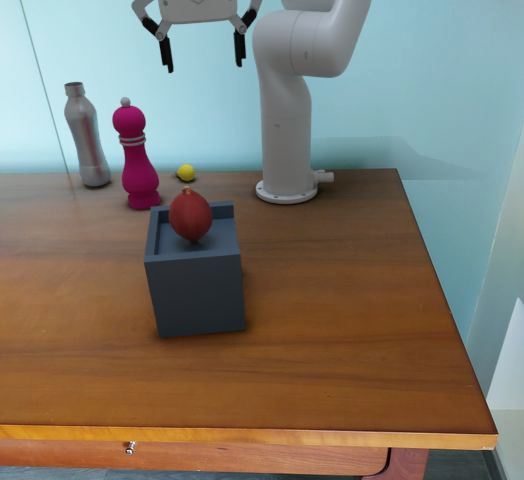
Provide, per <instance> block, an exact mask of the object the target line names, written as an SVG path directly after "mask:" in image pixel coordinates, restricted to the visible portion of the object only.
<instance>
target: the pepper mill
mask: <svg viewBox="0 0 524 480" xmlns="http://www.w3.org/2000/svg"><path fill="white" fill-rule="evenodd" d="M119 104H120V105H121V106H118V108H116V109H115V110H114V111H113V113H112V118H111V122H112V126H113V129H114V130H115V131H116V132H117V133H118V135H117V138H118V141H119V142H118V143H119V145H121V146H122V149H123V154H124V164H123V169H122V172H121V186H122V189H123V190H124V191H125V192H126V193H127V194H128V195H127V202H128V206H129V207H130V208H132V209H134V210H148V209H151V207H154V206H159V204H160V203H161V199H160V192H159V191H158V190H157V189H158V188H159V186H160V178H159V174H158V172H157V170H156V168H155V166H154V165H153V164H152V163H151V160H150V159H149V156H148V154H147V151H146V144H145V143H146V142H147V138H146V132H145V131H144V130H145V128H146V124H147V120H146V116H145V114H144V113H143V111H142V109H140V108H139V107H137V106H135V105H132V104H131V99H130V98H129V97H128V96H123V97H121V99H120V103H119Z"/></svg>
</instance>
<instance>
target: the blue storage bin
mask: <svg viewBox="0 0 524 480" xmlns="http://www.w3.org/2000/svg"><path fill="white" fill-rule="evenodd" d="M207 202H208V203H209V205H210V207H211V210H212V225H211V227H210V230H209V231H208V232H207V233H206V234H205V235H204V236H203V237H202V238H201V239H199V240H198V241H197V242H195V243H192V242H190V241H188V240H187V239H185V238H183V237H181V236H179V235H178V234H176V232H175V231H174V230H173V229H172V227H171V225H170V222H169V208H170V205H171V204H167V205H157V206H154V207H151V208H150V213H149V220H148V228H147V234H146V235H147V236H146V242H145V248H144V249H145V250H144V258H143V265H144V270H145V275H146V281H147V285H148V291H149V294H150V300H151V305H152V309H153V314H154V319H155V323H156V329H157V334H158V338H159V339H163V338H172V337H184V336H185V337H186V336H196V335H206V334H216V333H217V334H218V333H227V332H229V333H230V332H238V331H239V332H240V331H247V327H246V325H247V324H246V312H245V311H246V310H245V297H244V295H245V294H244V284H243V283H244V282H243V270H242V269H243V268H242V267H243V266H242V255H241V248H240V247H239V239H238V234H237V226H236V219H235V209H234V207H235V206H234V200H222V201H207Z"/></svg>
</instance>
